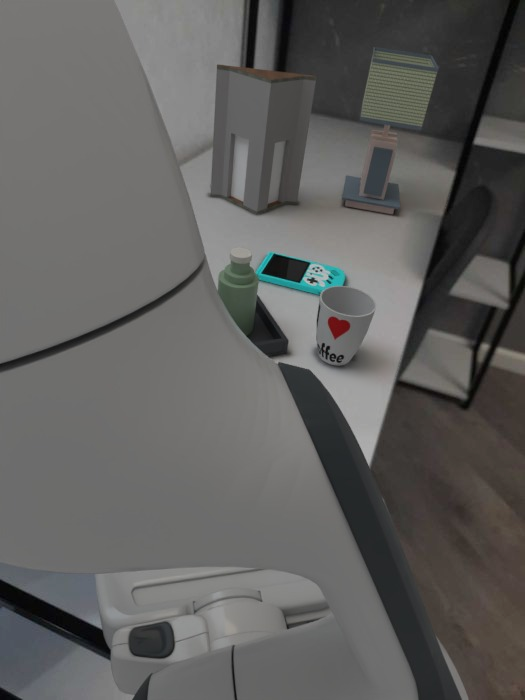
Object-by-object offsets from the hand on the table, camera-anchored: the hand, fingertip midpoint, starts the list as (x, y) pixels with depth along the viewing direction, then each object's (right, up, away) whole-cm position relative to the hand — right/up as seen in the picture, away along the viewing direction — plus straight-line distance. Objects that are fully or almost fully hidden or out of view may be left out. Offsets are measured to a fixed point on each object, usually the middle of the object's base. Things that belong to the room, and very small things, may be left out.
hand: (208, 498), depth 50 cm
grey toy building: (+3, +48, +73) cm, 88 cm away
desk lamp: (+33, +53, +85) cm, 105 cm away
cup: (+16, +13, +31) cm, 37 cm away
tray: (-9, +16, +30) cm, 35 cm away
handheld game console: (+12, +28, +49) cm, 58 cm away
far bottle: (+1, +18, +33) cm, 37 cm away
